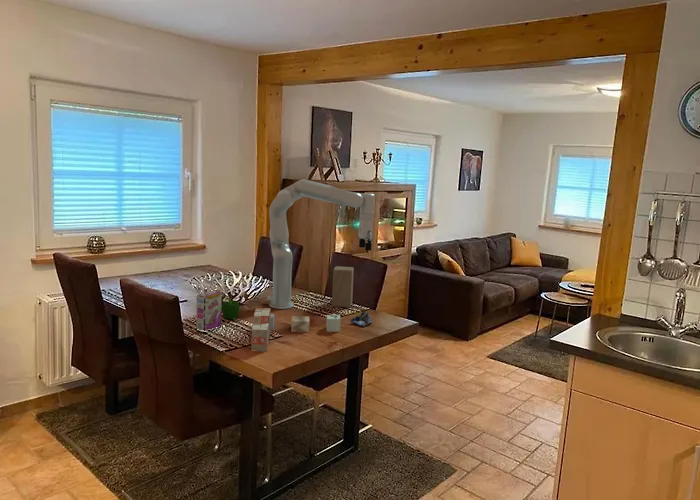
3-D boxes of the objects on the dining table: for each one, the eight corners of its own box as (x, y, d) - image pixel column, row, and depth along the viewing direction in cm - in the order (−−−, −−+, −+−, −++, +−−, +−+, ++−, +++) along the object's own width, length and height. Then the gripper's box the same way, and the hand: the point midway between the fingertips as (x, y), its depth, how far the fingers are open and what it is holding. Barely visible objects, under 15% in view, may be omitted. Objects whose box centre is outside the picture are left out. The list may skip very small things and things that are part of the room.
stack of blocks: (266, 352, 215) (267, 322, 213) (251, 351, 214) (251, 321, 212) (270, 334, 236) (270, 307, 234) (255, 334, 235) (256, 307, 233)
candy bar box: (204, 333, 233) (204, 296, 230) (195, 331, 235) (195, 295, 233) (222, 327, 243) (222, 291, 240) (213, 325, 245) (213, 290, 243)
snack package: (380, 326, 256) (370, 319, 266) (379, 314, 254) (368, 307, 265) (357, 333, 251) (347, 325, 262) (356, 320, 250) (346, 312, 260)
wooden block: (352, 303, 295) (353, 267, 292) (350, 307, 285) (352, 270, 282) (334, 301, 296) (335, 265, 293) (331, 306, 286) (333, 269, 283)
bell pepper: (243, 317, 259) (243, 297, 258) (232, 321, 252) (232, 300, 250) (228, 314, 263) (229, 294, 261) (218, 318, 255) (218, 298, 254)
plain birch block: (291, 331, 242) (291, 321, 241) (291, 326, 249) (291, 316, 249) (309, 332, 242) (309, 321, 242) (308, 326, 250) (309, 316, 249)
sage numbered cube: (326, 331, 244) (327, 318, 243) (326, 327, 250) (326, 314, 249) (340, 331, 244) (340, 318, 243) (339, 327, 250) (339, 314, 249)
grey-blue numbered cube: (259, 330, 241) (259, 316, 240) (260, 326, 247) (260, 313, 246) (273, 330, 242) (273, 317, 241) (273, 326, 248) (274, 313, 247)
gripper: (354, 215, 292) (353, 246, 294) (365, 218, 275) (363, 251, 278) (367, 215, 294) (366, 246, 297) (379, 218, 278) (377, 251, 280)
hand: (365, 248), depth 287 cm, fingers open, 9 cm apart
